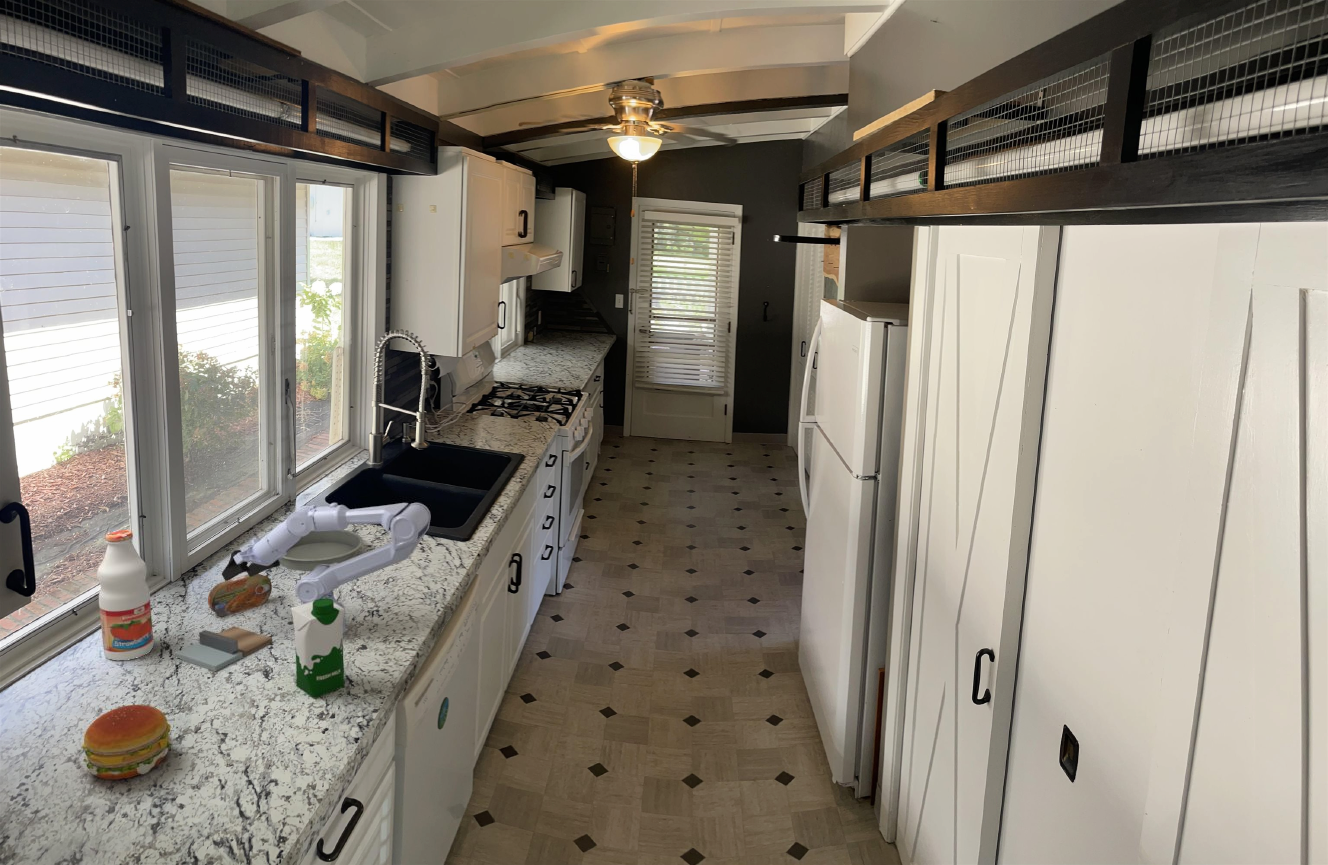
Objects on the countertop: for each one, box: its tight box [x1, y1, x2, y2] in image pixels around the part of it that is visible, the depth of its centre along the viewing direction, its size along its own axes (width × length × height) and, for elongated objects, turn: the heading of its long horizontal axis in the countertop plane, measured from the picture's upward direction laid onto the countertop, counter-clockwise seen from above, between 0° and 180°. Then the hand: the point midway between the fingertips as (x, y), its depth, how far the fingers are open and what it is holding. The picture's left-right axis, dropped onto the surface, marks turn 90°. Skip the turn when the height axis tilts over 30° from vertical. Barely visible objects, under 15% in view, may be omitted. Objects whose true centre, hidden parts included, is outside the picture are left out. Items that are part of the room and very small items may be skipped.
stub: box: [174, 629, 244, 672], centre depth 188 cm, size 12×7×4 cm, turn 68°
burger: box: [81, 704, 173, 780], centre depth 151 cm, size 13×14×10 cm
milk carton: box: [291, 598, 345, 699], centre depth 178 cm, size 9×9×20 cm
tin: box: [207, 573, 273, 617], centre depth 211 cm, size 15×3×8 cm, turn 143°
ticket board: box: [218, 626, 273, 658], centre depth 195 cm, size 12×8×1 cm, turn 68°
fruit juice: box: [96, 529, 154, 660], centre depth 185 cm, size 9×9×28 cm
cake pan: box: [278, 529, 364, 572], centre depth 246 cm, size 25×25×4 cm
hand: (236, 575), depth 201 cm, fingers open, 7 cm apart
